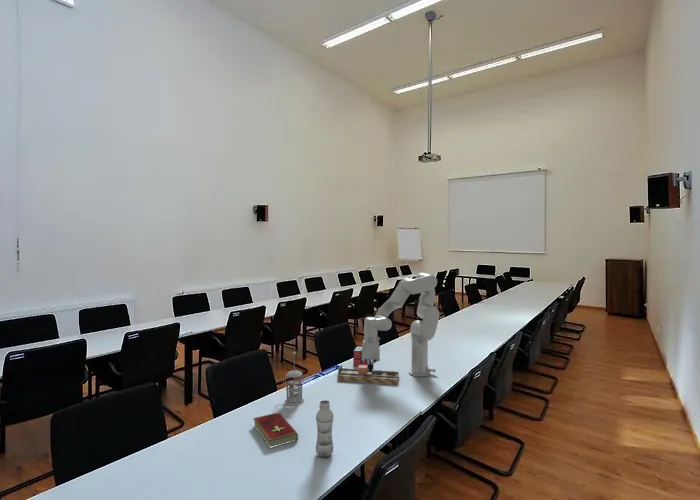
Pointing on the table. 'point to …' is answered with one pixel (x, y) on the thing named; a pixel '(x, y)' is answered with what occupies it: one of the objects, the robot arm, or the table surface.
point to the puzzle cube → (358, 357)
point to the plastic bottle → (324, 430)
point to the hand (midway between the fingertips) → (370, 370)
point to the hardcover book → (275, 429)
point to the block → (363, 369)
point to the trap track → (368, 376)
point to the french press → (297, 397)
